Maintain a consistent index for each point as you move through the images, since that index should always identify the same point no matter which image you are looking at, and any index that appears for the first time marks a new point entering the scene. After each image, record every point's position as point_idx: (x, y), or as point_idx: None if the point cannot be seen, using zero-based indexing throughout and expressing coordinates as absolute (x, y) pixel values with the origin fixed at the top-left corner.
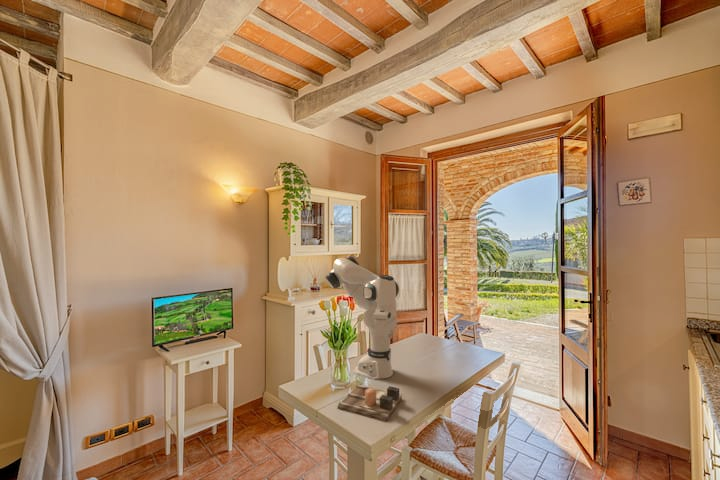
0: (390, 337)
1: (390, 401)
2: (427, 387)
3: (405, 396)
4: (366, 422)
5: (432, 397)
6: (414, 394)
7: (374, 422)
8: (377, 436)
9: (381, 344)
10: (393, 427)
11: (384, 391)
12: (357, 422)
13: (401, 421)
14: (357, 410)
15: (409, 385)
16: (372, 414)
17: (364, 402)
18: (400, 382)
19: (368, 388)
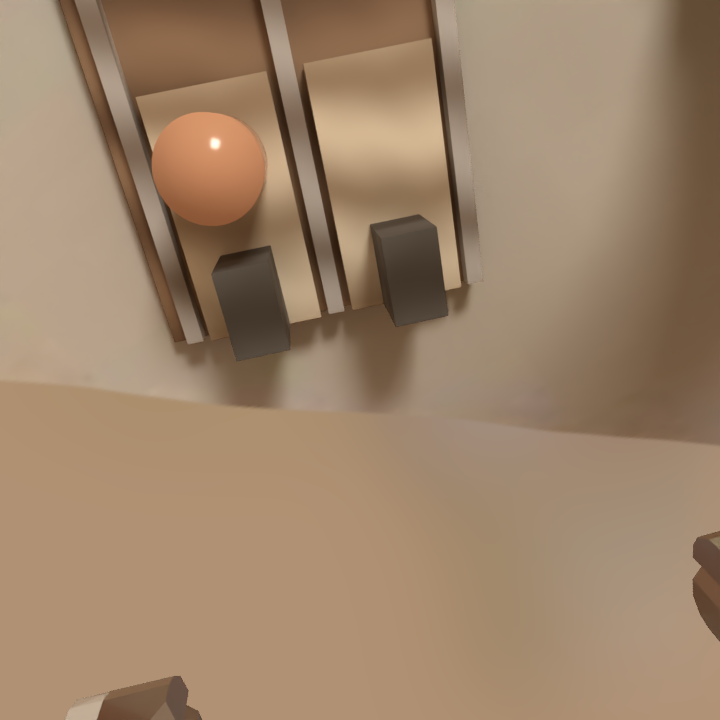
0: (715, 611)
1: (239, 357)
2: (706, 334)
3: (522, 273)
4: (76, 232)
5: (592, 413)
6: (577, 309)
7: (117, 276)
8: (23, 369)
9: (83, 698)
10: (162, 393)
11: (459, 139)
12: (26, 179)
13: (245, 398)
14: (104, 103)
15: (687, 216)
16: (149, 234)
17: (204, 101)
18: (708, 129)
19: (230, 121)
